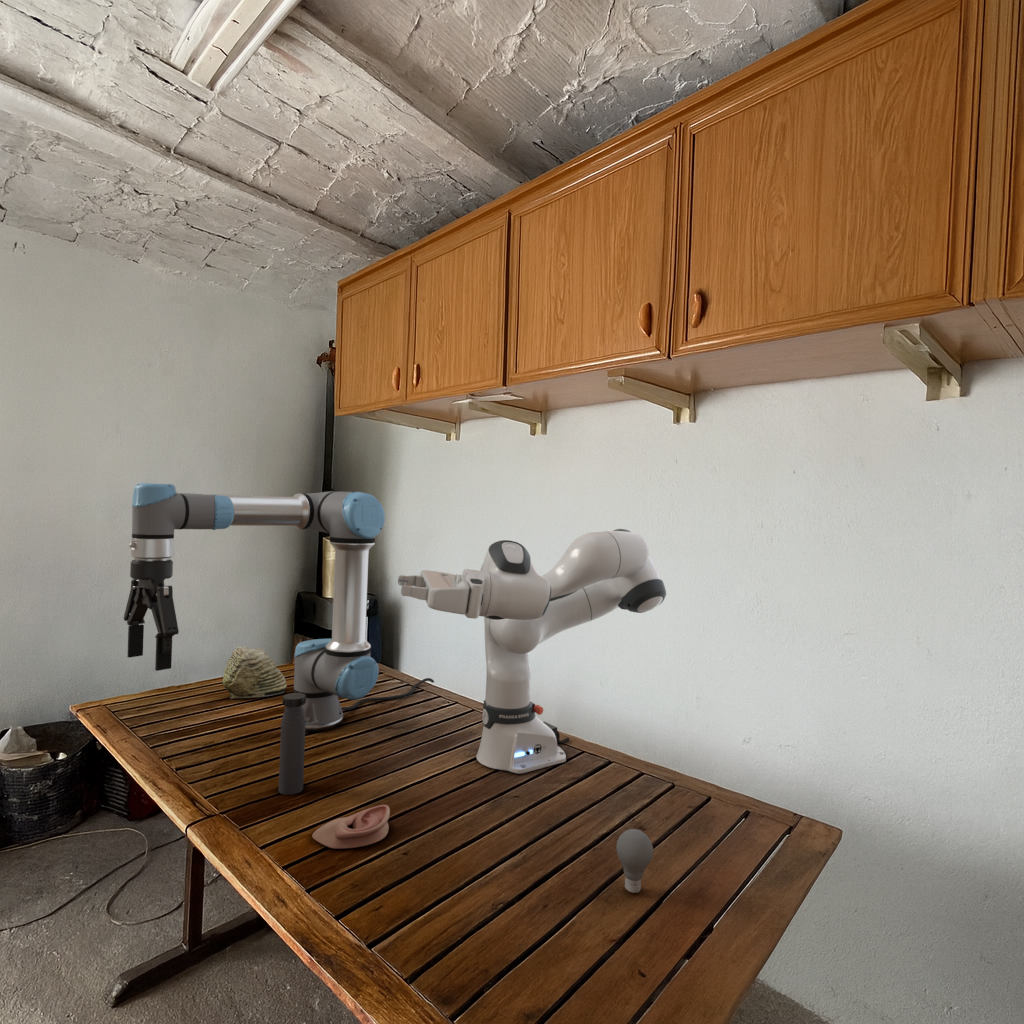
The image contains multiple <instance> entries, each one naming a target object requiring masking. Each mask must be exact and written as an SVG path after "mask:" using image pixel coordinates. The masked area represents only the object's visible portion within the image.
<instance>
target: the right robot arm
mask: <svg viewBox="0 0 1024 1024" xmlns="http://www.w3.org/2000/svg"><path fill="white" fill-rule="evenodd" d="M649 556H650V550H649V546H648V543H647V541H646V540H645V539H644V537H643V536H641V535H640V534H638V533H636V532H632V531H630V530H629V529H625V528H616V529H613V530H604V531H603V530H601V531H593V532H588V533H585V534H582V535H580V536H578V537H577V538H575V539H574V540H573V541H572V542H571V543H570V544H569V546H568V547H567V549H566V550H565V552H564V553H563V555H561V557H560V559H559V560H558V561H557V563H555V565H554V566H553V567H552V568H551V569H549V571H548V572H546V573H544V574H543V575H540V574H539V572H538V571H537V570H536V568H535V566H534V564H533V562H532V560H531V555H530V553H529V551H528V550H527V548H526V547H525V546H524V545H523V544H521V543H519V542H517V541H514V540H508V539H503V540H498V541H494V543H491V544H490V545H489V546H488V549H487V551H486V552H485V555H484V559H483V562H482V565H481V568H480V570H479V569H478V570H477V569H469V568H465V569H463V571H462V573H461V574H454V573H451V572H450V573H449V572H445V571H444V572H443V571H437V570H429V569H423V570H420V573H419V575H418V574H414V575H404V574H403V575H402V574H399V576H398V577H397V584H398V585H399V586H401V589H400V594H401V596H402V597H410V598H414V599H417V600H420V601H425V603H426V604H427V607H428V608H429V609H431V610H435V611H439V612H444V613H450V614H457V615H463V616H465V617H466V618H467V619H473V620H474V619H478V618H479V617H483V623H484V651H485V663H486V664H485V666H486V667H485V668H486V669H485V670H486V672H485V673H486V675H485V677H486V678H485V699H484V700H483V703H482V705H483V706H482V732H481V738H480V741H479V747H478V750H477V752H476V755H475V756H476V761H477V762H478V763H479V764H481V765H483V766H485V767H487V768H490V769H494V770H499V771H507V772H510V773H514V774H518V775H519V774H520V775H521V774H522V775H523V774H526V773H529V772H532V771H537V770H541V769H544V768H548V767H551V766H555V765H559V764H563V763H566V761H567V755H566V752H565V751H564V750H563V748H561V747H560V746H558V744H559V745H564V744H565V743H566V742H569V741H570V737H565V738H563V739H560V738H561V736H560V735H561V734H560V732H559V731H558V726H555V725H553V724H551V723H550V722H549V723H548V722H546V721H542V720H541V719H540V718H538V716H541V715H542V714H543V713H544V711H545V709H544V707H543V706H541V705H540V704H536V703H535V702H532V701H531V698H530V697H531V678H532V670H531V665H530V659H529V653H531V652H532V651H534V649H536V648H537V647H538V645H540V644H542V643H543V642H544V643H545V641H547V640H549V639H550V638H552V637H554V636H556V635H557V634H560V633H562V632H564V631H567V630H569V629H572V628H575V627H579V626H581V625H583V624H587V623H590V622H592V621H595V620H597V619H599V618H601V617H604V616H606V615H608V614H609V613H611V612H614V611H615V610H617V609H618V608H619V609H621V610H626V611H629V612H630V613H636V614H637V613H638V614H642V613H646V612H650V611H652V610H654V609H656V608H657V607H659V606H660V605H662V603H664V601H665V598H666V596H667V589H666V586H665V583H664V581H663V580H662V579H661V577H660V575H659V573H658V570H657V568H656V566H655V564H654V561H653V560H652V558H651V557H649ZM537 715H538V716H537Z"/></svg>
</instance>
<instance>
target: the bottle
mask: <svg viewBox="0 0 1024 1024" xmlns="http://www.w3.org/2000/svg"><path fill="white" fill-rule="evenodd" d="M305 725H306V720H305V714H304V711H303V708H302V706H298V707H287V706H285V709H284V712H283V715H282V717H281V721H280V740H279V741H280V744H279V767H278V770H279V771H278V793H280V794H282V795H286V796H289V795H291V796H292V795H296V794H299V793H300V792H302V791H304V777H305V776H304V773H305V750H306V732H305Z"/></svg>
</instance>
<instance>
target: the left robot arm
mask: <svg viewBox="0 0 1024 1024" xmlns="http://www.w3.org/2000/svg"><path fill="white" fill-rule="evenodd" d="M385 515H386V513H385V511H384V508H383V505H382V503H381V502H380V501H379V500H378V498H377V497H375V495H373V494H370V493H367V492H363V491H362V492H361V491H337V490H336V491H335V490H333V491H332V490H330V491H321V492H311V493H295V494H294V495H293V496H276V495H275V496H274V495H273V496H272V495H248V494H247V495H246V494H244V495H243V494H220V493H219V494H218V493H217V494H216V493H215V494H214V493H189V492H187V493H186V492H177V491H176V486H175V485H174V484H173V483H152V482H139V483H137V484H136V485H135V486H134V488H133V492H132V501H131V520H132V521H131V542H130V543H128V547H129V548H130V549H131V550H130V556H131V558H133V559H132V560H131V561H130V567H129V568H130V571H129V574H130V575H129V576H130V578H131V581H130V590H129V594H128V598H127V603H126V607H125V610H124V615H123V621H124V622H126V624H127V626H128V629H127V630H128V631H127V658H135V657H142V656H144V635H145V634H144V630H145V625H144V624H145V623H146V621H145V619H144V618H145V616H146V615H147V612H148V609H149V610H151V613H152V618H153V620H154V624H155V627H156V631H157V633H156V635H155V636H154V638H155V661H154V663H155V665H154V668H155V669H154V670H155V671H157V672H159V671H164V670H169V669H172V659H173V657H172V655H173V637H175V636H176V635H179V632H180V631H179V625H178V619H177V615H176V614H177V613H176V609H175V603H174V597H173V595H174V593H173V585H165V580H167V579H171V578H172V577H173V575H174V573H173V572H174V561H173V560H172V559H171V558H173V557H174V554H175V553H174V552H175V530H213V531H215V530H224V529H228V528H230V526H233V527H234V526H237V527H238V526H240V527H243V526H246V527H247V526H249V527H250V526H258V527H259V526H268V527H269V526H276V527H277V526H282V527H284V526H285V527H286V526H287V527H288V526H289V527H290V526H291V527H293V528H294V529H296V530H308V531H309V530H310V531H316V532H319V533H325V534H329V544H330V545H331V546H332V547H333V548H334V550H335V551H334V572H333V573H334V577H333V599H332V625H331V626H332V627H331V638H317V639H308V640H304V641H300V642H299V643H297V645H296V646H295V650H294V655H293V657H294V672H293V673H294V674H293V693H302V694H305V695H306V696H305V697H306V703H305V704H304V705H302V708H303V711H304V714H305V720H306V725H305V733H316V732H325V731H329V730H332V729H335V728H337V727H339V726H340V725H342V723H343V722H344V713H343V711H351V710H353V709H355V708H356V707H358V706H359V705H360V704H362V703H366V702H371V701H372V702H374V701H375V702H376V701H390V700H396V699H401V698H406V697H408V696H410V695H412V694H414V693H415V691H416V688H418V687H419V686H420V685H422V684H423V683H426V682H430V683H435V680H434V679H433V678H431V677H425V678H423V679H422V680H420V681H419V682H417V683H416V684H414V685H413V686H412V688H411V690H410V691H407V692H405V693H402V694H396V695H389V696H374V697H366V698H364V697H365V696H367V695H368V694H370V692H371V690H372V689H374V687H375V685H376V683H377V682H378V678H379V674H380V672H379V671H380V670H379V669H380V668H379V665H378V663H377V662H376V660H375V659H374V657H371V652H372V649H371V648H372V644H371V643H370V642H368V640H367V639H366V631H367V607H368V606H367V605H368V604H367V602H368V582H369V581H368V579H369V555H370V553H369V552H370V550H371V548H372V547H374V545H375V544H376V536H378V535H379V534H380V533H381V530H383V528H384V526H385V522H386V521H385V520H386V516H385ZM339 698H341V699H342V700H343V699H344V700H348V701H349V700H350V701H355V703H354V704H353V705H351V706H341V702H340V699H339ZM357 700H358V701H357Z"/></svg>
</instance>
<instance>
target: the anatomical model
mask: <svg viewBox="0 0 1024 1024" xmlns="http://www.w3.org/2000/svg"><path fill="white" fill-rule="evenodd" d="M390 816H391V809H390V807H389V805H388V804H380V805H376V806H372V807H368V808H366V809H363V810H361V811H359V812H356V813H353V814H351V815H349V816H346V817H338V818H336V819H333V820H331V821H328V822H326V823H325V824H323V825H322V826H320V827H319V828H317V829H316V830H315V831H314V832H313V833H312V834H311V837H312V839H313V840H315V841H316V842H318V843H319V844H320V845H322V846H325V847H327V848H330V849H334V850H335V849H336V850H341V849H344V850H345V849H353V848H359V847H365V846H369V845H373V844H375V843H378V842H380V841H382V840H384V839H385V838H386V837H387V835H388V833H389V828H390V826H389V825H390V824H389V823H388V821H389V819H390Z"/></svg>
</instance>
